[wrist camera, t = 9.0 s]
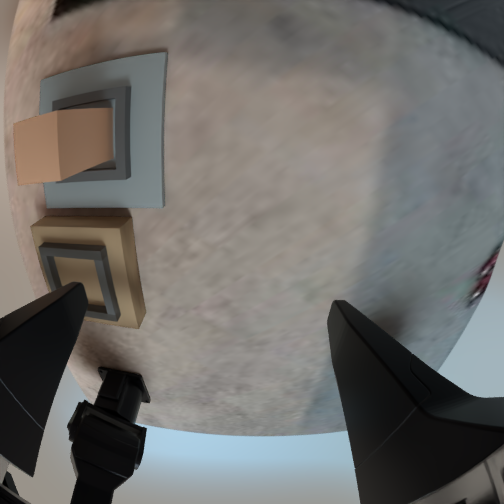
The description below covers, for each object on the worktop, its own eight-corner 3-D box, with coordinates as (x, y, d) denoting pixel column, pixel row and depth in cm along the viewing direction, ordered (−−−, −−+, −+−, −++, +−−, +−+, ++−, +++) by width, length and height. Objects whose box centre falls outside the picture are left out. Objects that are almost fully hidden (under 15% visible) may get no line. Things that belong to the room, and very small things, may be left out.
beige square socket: (146, 312, 26) (135, 336, 23) (67, 300, 26) (53, 320, 22) (131, 216, 21) (114, 233, 18) (45, 216, 21) (24, 230, 18)
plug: (113, 158, 18) (60, 180, 12) (73, 162, 18) (18, 185, 12) (113, 107, 17) (57, 110, 10) (72, 115, 16) (13, 123, 10)
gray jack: (165, 205, 21) (158, 212, 19) (50, 206, 21) (40, 212, 19) (168, 53, 15) (161, 49, 14) (44, 80, 15) (33, 80, 14)
